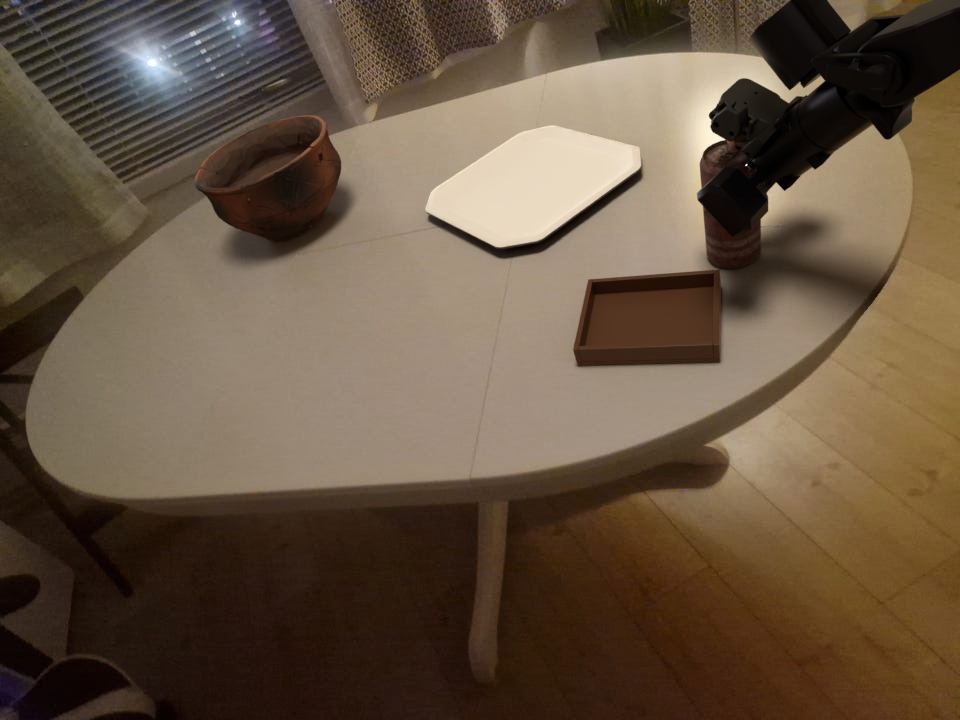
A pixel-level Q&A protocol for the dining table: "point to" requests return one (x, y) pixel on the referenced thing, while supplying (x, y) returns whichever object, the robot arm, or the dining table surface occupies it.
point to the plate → (532, 185)
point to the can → (718, 240)
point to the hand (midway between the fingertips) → (720, 202)
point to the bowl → (273, 178)
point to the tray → (650, 319)
